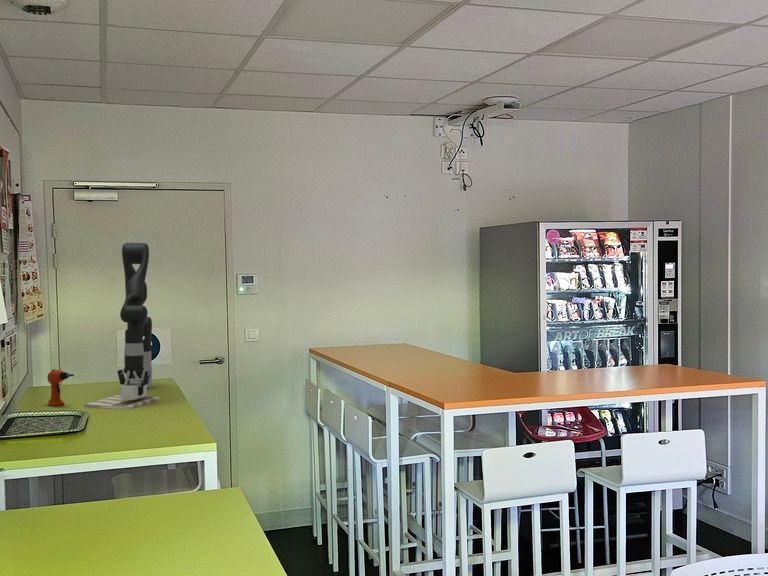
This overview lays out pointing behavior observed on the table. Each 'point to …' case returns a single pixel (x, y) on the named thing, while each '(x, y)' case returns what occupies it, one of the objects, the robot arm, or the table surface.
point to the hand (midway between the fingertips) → (134, 395)
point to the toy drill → (56, 386)
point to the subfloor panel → (120, 402)
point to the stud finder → (132, 391)
